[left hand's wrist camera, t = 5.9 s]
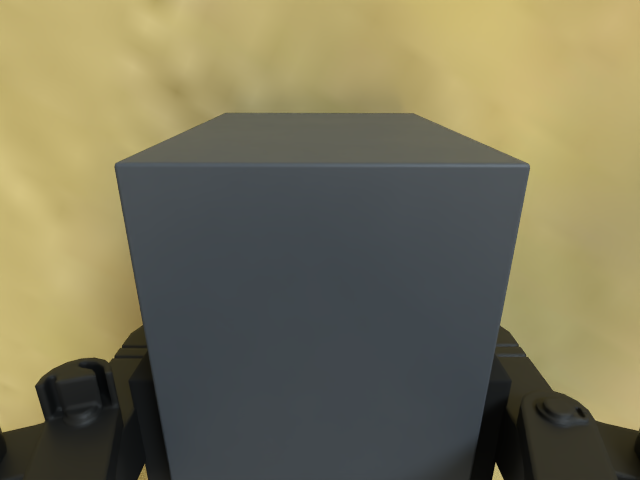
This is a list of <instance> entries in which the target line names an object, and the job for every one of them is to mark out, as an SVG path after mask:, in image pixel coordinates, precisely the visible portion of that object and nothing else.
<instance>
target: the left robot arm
mask: <svg viewBox="0 0 640 480" xmlns="http://www.w3.org/2000/svg"><path fill="white" fill-rule="evenodd" d="M518 345H519V344H518V343H517V342H516V340H515V339H514V338H513V336H512V335H511V334H510V332H508V331H507V330H506V329H504V328H503V327H501V326H500V327H499V332H498V337H497V342H496V348H495V353H494V358H493V363H492V368H491V374H490V379H489V384H488V389H487V395H486V400H485V405H484V410H483V415H482V421H481V426H480V431H479V436H478V441H477V447H476V452H475V457H474V462H473V468H472V473H471V478H470V480H492V477H493V472H494V467H495V462H496V464H497V466H498V468H499V470H500V472H501V474H502V477H503V479H504V480H640V429H639V431H636V430H632V429H627V428H623V427H618V426H614V425H610V424H605V423H602V422H598V421H595V419H594V418H593V416H592V415H591V413H590V412H589V410H588V409H586V408H585V407H584V406H583V405H582V404H580V403H579V402H578V401H576V400H574V399H572V398H570V397H568V396H567V395H565V394H561V393H558V392H555V391H553V390H552V389H551V387H550V386H549V385H548V383H547V382H546V381H545V379H544V378H543V377H542V375H541V374H540V373H539V371H538V370H537V369H536V367H535V366H534V365H533V363H532V362H531V360H530V359H529V358H528V357H526V354H525V352H524V351H523V350H522V348H521V347H519V346H518ZM35 388H36V391H37V395H38V398H39V401H40V404H41V408H42V411H43V414H44V418H45V422H44V423H41V424H38V425H34V426H29V427H25V428H21V429H16V430H12V431H7V432H3V433H2V431H1V428H0V480H137V479H138V477H139V475H140V473H141V471H142V468H143V466H144V464H145V466H146V471H147V476H148V480H171V476H170V471H169V465H168V460H167V454H166V449H165V443H164V437H163V432H162V426H161V421H160V415H159V410H158V404H157V399H156V393H155V388H154V382H153V377H152V371H151V366H150V360H149V355H148V349H147V344H146V338H145V332H144V327H143V326H141V327H140V328H138V329H137V330H135V331H134V332H133V333H131V334H130V336H129V337H128V338H127V340H126V341H125V342H124V344H123V345H122V348H120V349H119V350H118V352H117V353H116V355H115V357H114V359H112V360H111V361H110V363H108V362H107V361H106V360H103V359H98V358H83V359H78V360H74V361H70V362H67V363H65V364H62V365H60V366H58V367H56V368H54V369H52V370H51V371H50V372H48V373H47V374H45V375H44V376H43V377H42V378H41V379H40V380H39V382H38V383H37V384H36V385H35Z"/></svg>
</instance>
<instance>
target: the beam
mask: <svg viewBox="0 0 640 480" xmlns="http://www.w3.org/2000/svg"><path fill="white" fill-rule="evenodd" d="M529 170H530V165H529V164H528V163H525V162H523V161H521V160H519V159H516V158H514V157H512V156H509V155H507V154H505V153H503V152H500V151H498V150H496V149H493V148H491V147H489V146H487V145H484V144H482V143H480V142H477V141H475V140H473V139H471V138H468V137H466V136H464V135H461V134H459V133H457V132H455V131H452V130H450V129H448V128H445V127H443V126H441V125H439V124H436V123H434V122H432V121H429V120H427V119H425V118H423V117H420V116H418V115H416V114H413V113H225V114H222V115H220V116H218V117H216V118H214V119H211V120H209V121H207V122H205V123H203V124H200V125H198V126H196V127H194V128H192V129H190V130H187V131H185V132H183V133H181V134H179V135H176V136H174V137H172V138H170V139H168V140H165V141H163V142H161V143H159V144H157V145H154V146H152V147H150V148H148V149H146V150H144V151H141V152H139V153H137V154H135V155H133V156H130V157H128V158H126V159H124V160H122V161H119V162H117V163H115V172H116V178H117V183H118V189H119V194H120V200H121V205H122V211H123V216H124V222H125V227H126V233H127V239H128V244H129V250H130V255H131V261H132V266H133V272H134V277H135V283H136V288H137V294H138V299H139V305H140V310H141V316H142V321H143V327H144V332H145V338H146V344H147V349H148V355H149V360H150V366H151V371H152V377H153V382H154V388H155V393H156V399H157V404H158V410H159V415H160V421H161V426H162V432H163V437H164V443H165V449H166V454H167V460H168V465H169V471H170V476H171V480H470V478H471V473H472V468H473V462H474V457H475V452H476V447H477V441H478V436H479V431H480V426H481V421H482V415H483V410H484V405H485V400H486V395H487V389H488V384H489V379H490V374H491V368H492V363H493V358H494V353H495V348H496V342H497V337H498V332H499V327H500V321H501V316H502V311H503V306H504V301H505V295H506V290H507V285H508V280H509V274H510V269H511V264H512V259H513V254H514V248H515V243H516V238H517V233H518V228H519V222H520V217H521V212H522V207H523V201H524V196H525V191H526V186H527V181H528V175H529Z"/></svg>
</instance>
